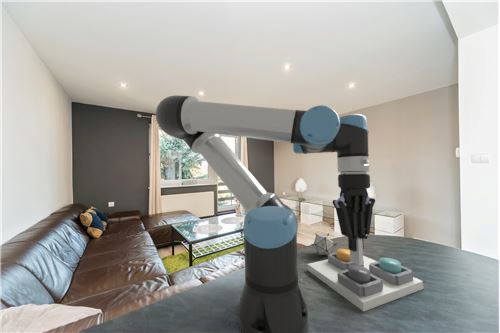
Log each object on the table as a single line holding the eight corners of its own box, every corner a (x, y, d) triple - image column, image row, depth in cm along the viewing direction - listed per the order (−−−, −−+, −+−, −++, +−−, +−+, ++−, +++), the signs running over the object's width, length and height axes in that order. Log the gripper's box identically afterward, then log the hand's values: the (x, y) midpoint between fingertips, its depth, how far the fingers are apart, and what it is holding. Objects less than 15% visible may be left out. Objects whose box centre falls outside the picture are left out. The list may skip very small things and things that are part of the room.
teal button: (394, 280, 49) (393, 267, 50) (375, 271, 54) (374, 259, 54) (406, 276, 51) (405, 263, 51) (387, 268, 56) (386, 256, 56)
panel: (363, 311, 42) (362, 291, 42) (307, 270, 61) (307, 256, 61) (423, 288, 50) (422, 272, 50) (357, 258, 68) (356, 246, 68)
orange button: (345, 267, 57) (345, 256, 57) (333, 260, 61) (332, 250, 62) (357, 264, 58) (357, 253, 59) (344, 258, 63) (344, 247, 63)
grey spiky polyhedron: (326, 263, 73) (336, 239, 76) (333, 264, 65) (343, 239, 68) (305, 249, 76) (315, 227, 79) (309, 250, 68) (320, 225, 71)
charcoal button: (361, 291, 45) (360, 276, 45) (344, 280, 50) (343, 267, 50) (375, 286, 47) (374, 272, 47) (358, 276, 52) (357, 263, 52)
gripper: (346, 173, 44) (350, 274, 43) (384, 172, 49) (388, 264, 48) (323, 173, 51) (326, 260, 50) (358, 173, 56) (361, 253, 55)
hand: (356, 262), depth 49 cm, fingers closed
